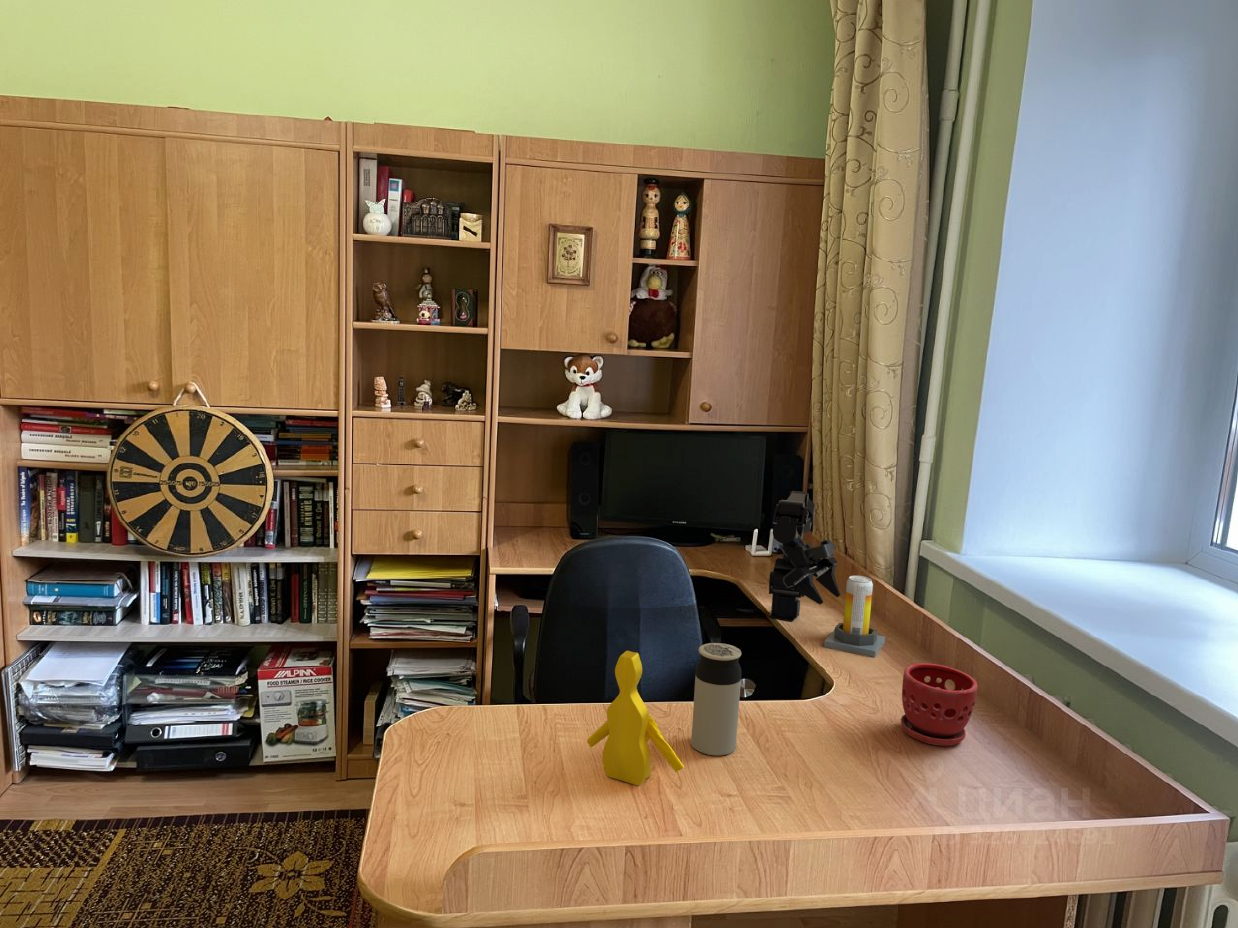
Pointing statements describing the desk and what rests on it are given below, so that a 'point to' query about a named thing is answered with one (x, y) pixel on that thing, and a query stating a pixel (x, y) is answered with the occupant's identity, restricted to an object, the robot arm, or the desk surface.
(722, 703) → the travel mug
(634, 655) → the figure statuette
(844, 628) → the beer can
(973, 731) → the desk surface
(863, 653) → the collar dock
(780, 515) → the robot arm
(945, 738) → the plant pot
